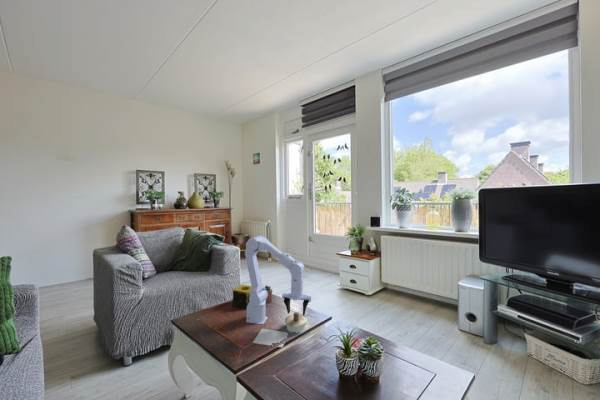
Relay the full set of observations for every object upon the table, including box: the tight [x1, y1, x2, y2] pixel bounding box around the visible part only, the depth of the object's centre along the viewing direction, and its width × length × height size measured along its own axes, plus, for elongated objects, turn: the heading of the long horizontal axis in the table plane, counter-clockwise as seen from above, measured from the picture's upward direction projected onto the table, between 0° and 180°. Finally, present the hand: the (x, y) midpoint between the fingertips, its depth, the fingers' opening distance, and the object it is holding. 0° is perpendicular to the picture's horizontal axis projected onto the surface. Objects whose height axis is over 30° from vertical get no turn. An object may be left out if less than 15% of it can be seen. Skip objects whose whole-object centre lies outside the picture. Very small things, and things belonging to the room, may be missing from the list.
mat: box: [252, 328, 289, 348], centre depth 124 cm, size 14×12×1 cm
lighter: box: [264, 285, 273, 304], centre depth 162 cm, size 8×3×10 cm, turn 84°
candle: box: [231, 284, 252, 310], centre depth 157 cm, size 10×10×10 cm
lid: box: [284, 311, 308, 327], centre depth 132 cm, size 11×11×4 cm
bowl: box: [286, 324, 306, 334], centre depth 132 cm, size 9×9×4 cm
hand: (296, 313), depth 132 cm, fingers open, 7 cm apart
